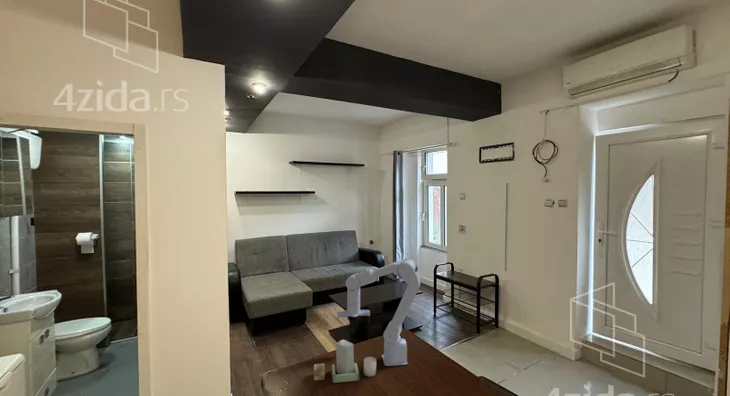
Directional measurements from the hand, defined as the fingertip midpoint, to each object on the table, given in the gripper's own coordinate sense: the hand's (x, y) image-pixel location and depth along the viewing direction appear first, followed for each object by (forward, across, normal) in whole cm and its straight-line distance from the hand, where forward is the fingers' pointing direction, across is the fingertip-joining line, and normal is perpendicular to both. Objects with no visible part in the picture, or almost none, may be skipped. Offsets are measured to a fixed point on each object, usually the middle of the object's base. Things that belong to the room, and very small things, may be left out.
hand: (353, 332), depth 134 cm
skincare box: (+10, -6, -14) cm, 18 cm away
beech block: (+10, -16, -14) cm, 23 cm away
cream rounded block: (+10, +4, -15) cm, 18 cm away
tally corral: (+9, -6, -16) cm, 19 cm away
